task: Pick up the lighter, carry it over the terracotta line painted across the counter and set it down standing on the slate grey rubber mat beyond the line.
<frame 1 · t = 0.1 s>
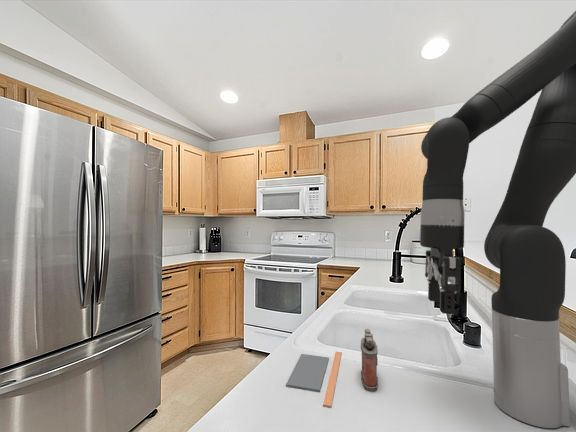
hand: (440, 306, 53), 17 cm above the countertop, tool pointing down, fingers open, 8 cm apart
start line: (333, 375, 60), on the countertop
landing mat: (309, 371, 61), on the countertop
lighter: (369, 381, 58), on the countertop
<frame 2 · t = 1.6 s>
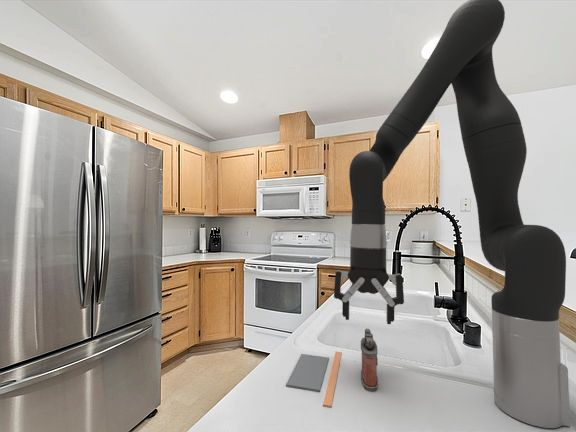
hand: (367, 320, 58), 13 cm above the countertop, tool pointing down, fingers open, 8 cm apart
nothing on the countertop moved.
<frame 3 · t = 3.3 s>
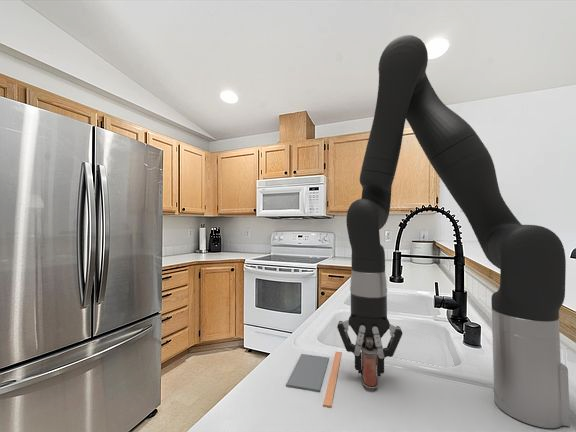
hand: (369, 372, 58), 2 cm above the countertop, tool pointing down, fingers closed on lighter, 3 cm apart
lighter: (369, 381, 58), on the countertop, touching gripper
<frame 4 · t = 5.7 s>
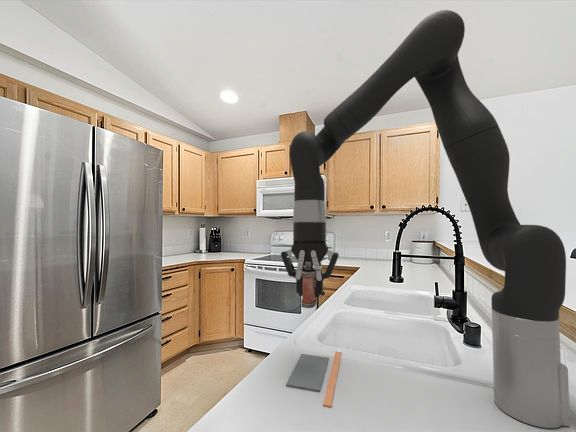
hand: (309, 295, 62), 17 cm above the countertop, tool pointing down, fingers closed on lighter, 3 cm apart
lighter: (309, 303, 62), point 15 cm above the countertop, touching gripper
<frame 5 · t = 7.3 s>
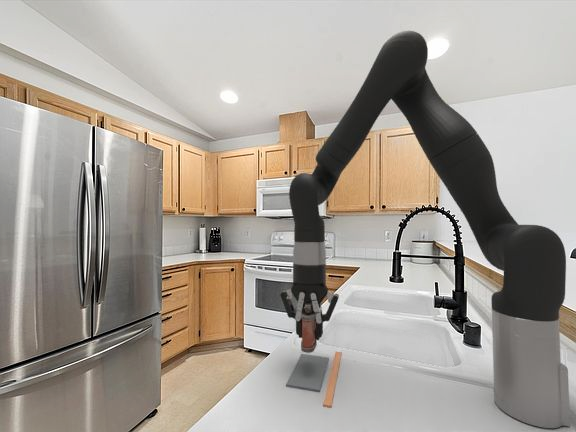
hand: (309, 337, 62), 8 cm above the countertop, tool pointing down, fingers closed on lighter, 3 cm apart
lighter: (309, 345, 62), point 6 cm above the countertop, touching gripper
when the fingers open (3 cm above the countertop, at t = 8.5 s): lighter drops 1 cm, resting on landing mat.
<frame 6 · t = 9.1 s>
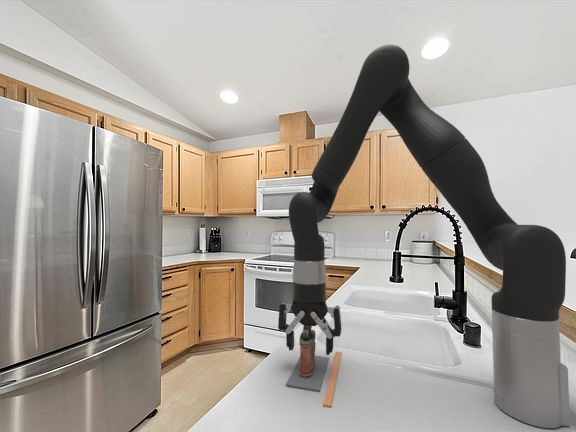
hand: (309, 351, 62), 5 cm above the countertop, tool pointing down, fingers open, 8 cm apart
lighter: (307, 370, 62), resting on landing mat
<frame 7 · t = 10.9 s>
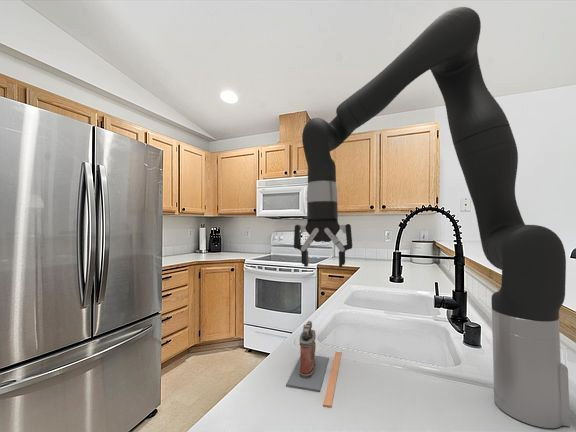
hand: (323, 266, 67), 23 cm above the countertop, tool pointing down, fingers open, 8 cm apart
nothing on the countertop moved.
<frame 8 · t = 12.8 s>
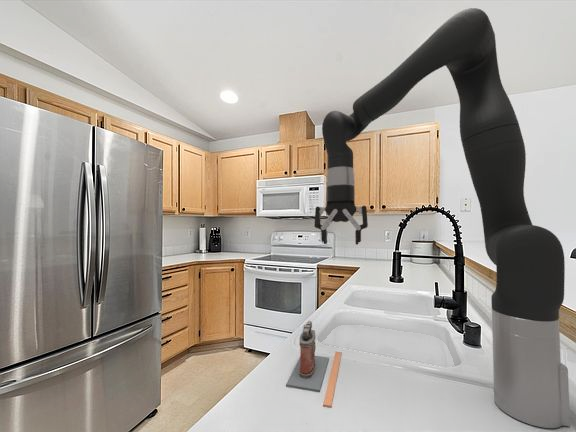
hand: (340, 244, 74), 28 cm above the countertop, tool pointing down, fingers open, 8 cm apart
nothing on the countertop moved.
at the end: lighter inside the target area (0.1 cm from its centre), resting on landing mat; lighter tilted 0°; the gripper is holding nothing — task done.
